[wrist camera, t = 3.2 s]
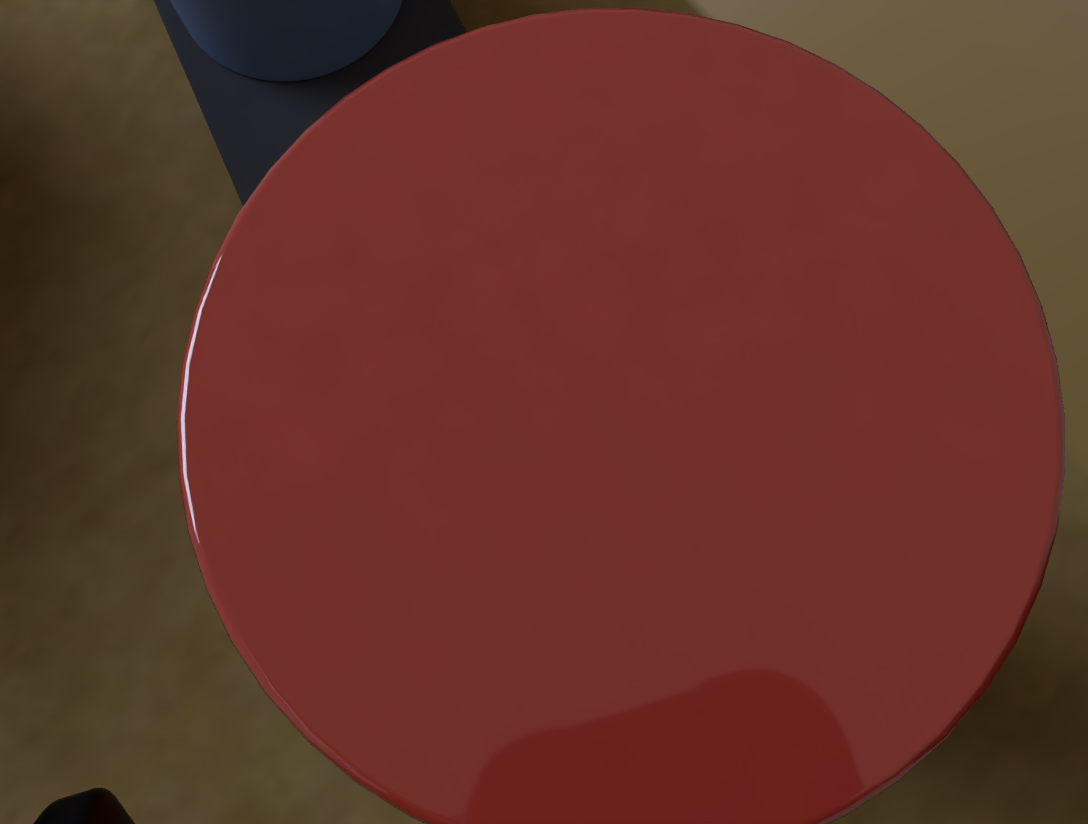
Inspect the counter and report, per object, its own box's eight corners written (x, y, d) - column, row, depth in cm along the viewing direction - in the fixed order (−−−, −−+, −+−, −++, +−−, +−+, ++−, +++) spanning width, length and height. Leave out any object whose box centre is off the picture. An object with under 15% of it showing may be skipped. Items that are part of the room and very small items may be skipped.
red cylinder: (766, 580, 17) (1263, 425, 5) (562, 770, 16) (584, 1113, 4) (584, 385, 17) (641, -135, 6) (385, 556, 17) (-4, 351, 5)
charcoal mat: (782, 642, 17) (787, 642, 16) (497, 785, 16) (495, 790, 16) (368, -147, 21) (365, -162, 21) (132, -53, 20) (124, -67, 20)
